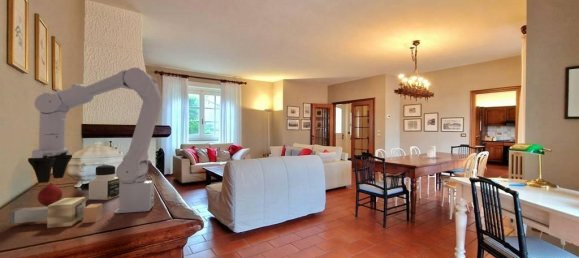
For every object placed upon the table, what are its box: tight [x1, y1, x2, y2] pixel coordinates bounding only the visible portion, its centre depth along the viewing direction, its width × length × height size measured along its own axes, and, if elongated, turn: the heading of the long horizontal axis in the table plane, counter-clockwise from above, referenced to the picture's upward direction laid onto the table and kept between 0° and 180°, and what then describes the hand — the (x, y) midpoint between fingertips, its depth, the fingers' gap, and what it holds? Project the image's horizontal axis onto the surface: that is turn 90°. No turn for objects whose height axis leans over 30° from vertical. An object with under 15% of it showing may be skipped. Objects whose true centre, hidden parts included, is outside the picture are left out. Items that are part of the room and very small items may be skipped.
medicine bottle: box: [88, 164, 120, 201], centre depth 96 cm, size 7×7×12 cm
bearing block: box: [46, 196, 87, 229], centre depth 70 cm, size 5×8×6 cm, turn 17°
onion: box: [37, 181, 63, 207], centre depth 83 cm, size 6×6×8 cm
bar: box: [9, 204, 86, 225], centre depth 69 cm, size 15×3×3 cm, turn 107°
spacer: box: [82, 203, 104, 224], centre depth 72 cm, size 4×4×3 cm
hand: (51, 180), depth 77 cm, fingers open, 7 cm apart
